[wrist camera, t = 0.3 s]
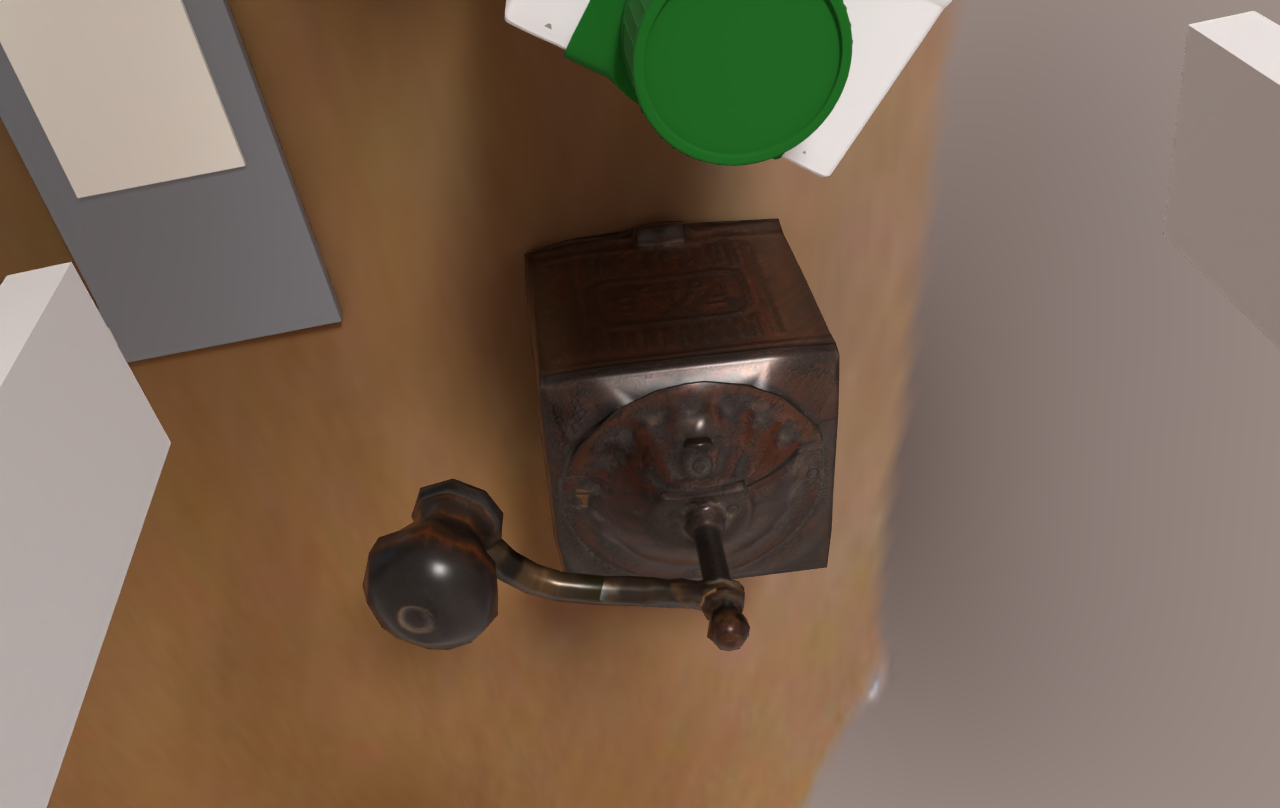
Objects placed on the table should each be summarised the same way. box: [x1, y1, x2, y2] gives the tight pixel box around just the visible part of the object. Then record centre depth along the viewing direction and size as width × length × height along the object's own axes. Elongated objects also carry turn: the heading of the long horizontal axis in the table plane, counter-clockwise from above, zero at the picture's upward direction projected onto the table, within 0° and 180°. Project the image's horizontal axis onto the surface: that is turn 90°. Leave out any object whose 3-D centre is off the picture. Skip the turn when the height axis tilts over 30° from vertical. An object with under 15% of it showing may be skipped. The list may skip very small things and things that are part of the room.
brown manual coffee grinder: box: [363, 219, 839, 651], centre depth 40 cm, size 16×11×18 cm
